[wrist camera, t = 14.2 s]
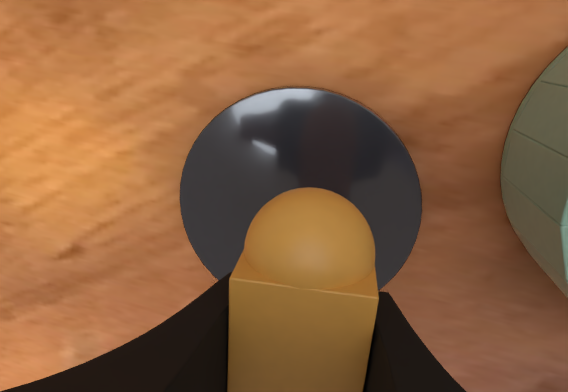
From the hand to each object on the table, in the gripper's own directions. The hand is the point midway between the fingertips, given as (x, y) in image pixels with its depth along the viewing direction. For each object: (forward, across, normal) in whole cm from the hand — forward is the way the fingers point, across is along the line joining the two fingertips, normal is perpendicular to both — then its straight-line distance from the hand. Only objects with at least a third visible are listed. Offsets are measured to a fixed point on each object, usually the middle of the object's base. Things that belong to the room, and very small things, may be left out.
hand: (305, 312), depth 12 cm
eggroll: (+1, 0, 0) cm, 1 cm away
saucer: (+8, +1, 0) cm, 8 cm away
